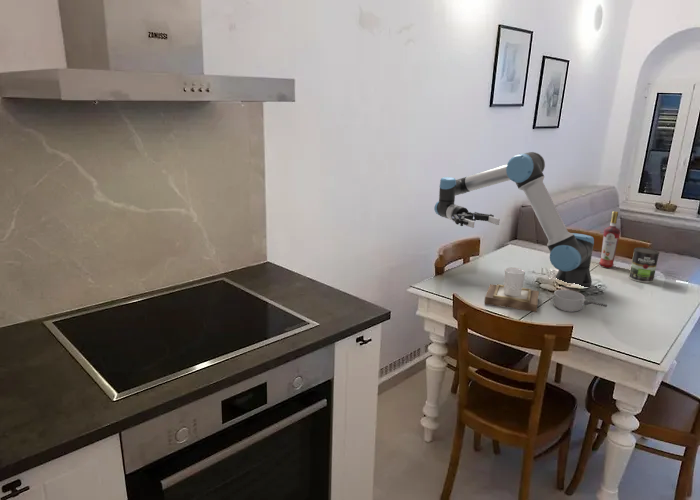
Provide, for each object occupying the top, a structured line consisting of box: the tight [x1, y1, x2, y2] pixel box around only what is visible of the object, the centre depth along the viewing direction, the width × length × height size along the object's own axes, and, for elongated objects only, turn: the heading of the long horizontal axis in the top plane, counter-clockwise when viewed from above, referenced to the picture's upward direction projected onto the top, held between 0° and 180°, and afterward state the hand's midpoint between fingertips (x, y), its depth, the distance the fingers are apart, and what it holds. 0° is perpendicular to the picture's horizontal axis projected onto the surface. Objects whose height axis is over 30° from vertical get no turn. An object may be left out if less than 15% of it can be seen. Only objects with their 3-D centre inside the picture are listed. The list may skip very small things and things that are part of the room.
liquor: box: [598, 210, 621, 269], centre depth 254 cm, size 7×7×28 cm
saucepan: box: [553, 289, 608, 313], centre depth 203 cm, size 12×20×6 cm, turn 45°
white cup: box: [503, 267, 526, 296], centre depth 210 cm, size 8×8×10 cm
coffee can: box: [628, 247, 660, 284], centre depth 238 cm, size 10×10×14 cm
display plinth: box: [484, 283, 540, 313], centre depth 212 cm, size 20×16×4 cm
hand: (486, 223), depth 225 cm, fingers open, 13 cm apart
